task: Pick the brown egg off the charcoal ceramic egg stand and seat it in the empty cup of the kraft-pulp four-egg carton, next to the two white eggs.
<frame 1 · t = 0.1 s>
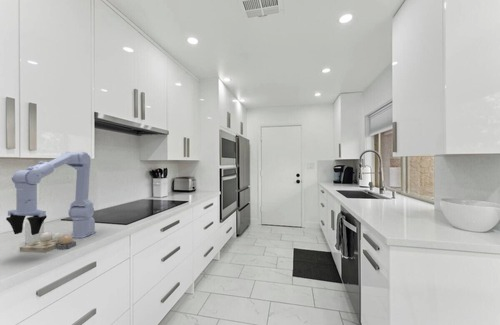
hand: (26, 233, 87), 10 cm above the countertop, fingers open, 7 cm apart
carton: (46, 246, 100), on the countertop
can: (34, 242, 105), on the countertop
brown egg: (66, 239, 99), point 3 cm above the countertop, touching egg stand
white egg b: (46, 236, 103), point 3 cm above the countertop, touching carton
white egg a: (58, 236, 102), point 3 cm above the countertop, touching carton
egg stand: (66, 246, 99), on the countertop
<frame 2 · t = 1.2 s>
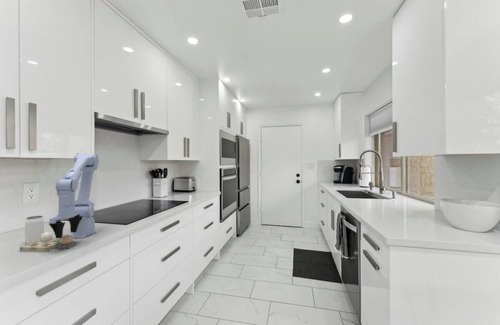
hand: (66, 234, 99), 5 cm above the countertop, fingers open, 7 cm apart
nothing on the countertop moved.
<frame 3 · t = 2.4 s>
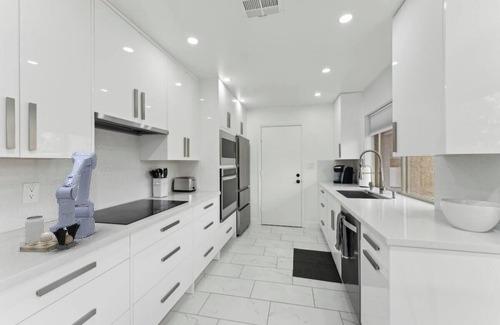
hand: (66, 242, 99), 2 cm above the countertop, fingers closed on brown egg, 4 cm apart
brown egg: (66, 239, 99), point 3 cm above the countertop, touching egg stand, gripper
everything else where it was.
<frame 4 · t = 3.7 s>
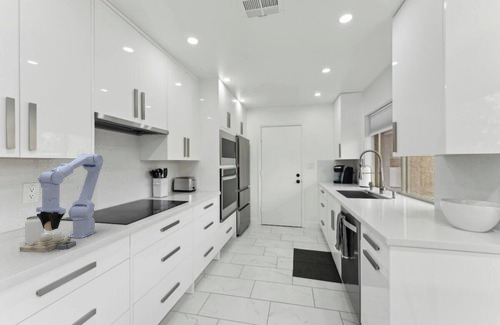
hand: (50, 228, 97), 9 cm above the countertop, fingers closed on brown egg, 4 cm apart
brown egg: (50, 225, 97), point 10 cm above the countertop, touching gripper
everything else where it was.
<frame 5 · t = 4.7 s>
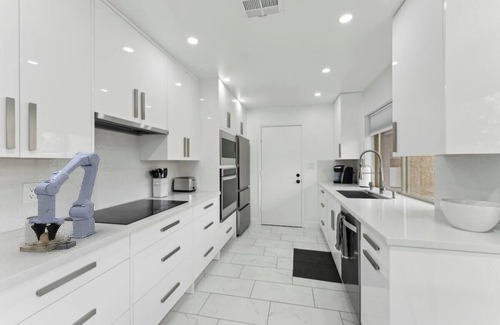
hand: (46, 240, 97), 4 cm above the countertop, fingers closed on brown egg, 4 cm apart
brown egg: (46, 237, 97), point 5 cm above the countertop, touching gripper
everything else where it was.
when the fingers open (3 cm above the countertop, at t = 5.4 s): brown egg stays where it is, resting on carton.
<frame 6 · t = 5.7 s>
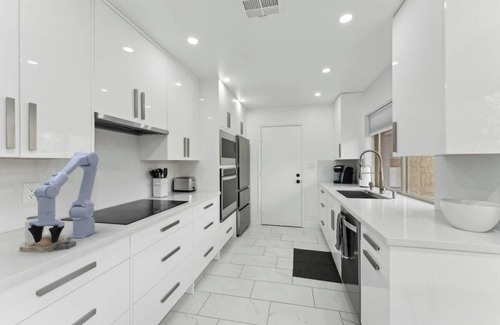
hand: (46, 242, 97), 3 cm above the countertop, fingers open, 7 cm apart
brown egg: (46, 241, 97), point 3 cm above the countertop, touching carton
everything else where it was.
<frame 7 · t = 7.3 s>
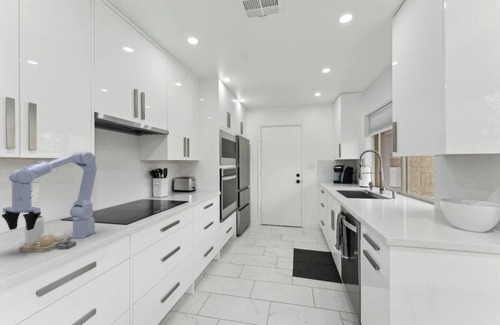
hand: (21, 229, 93), 10 cm above the countertop, fingers open, 7 cm apart
nothing on the countertop moved.
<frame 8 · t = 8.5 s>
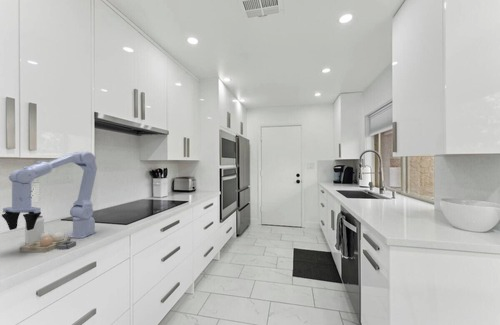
hand: (21, 229, 93), 10 cm above the countertop, fingers open, 7 cm apart
nothing on the countertop moved.
at the end: brown egg 0.0 cm from the target spot on the carton, point 3.4 cm above the carton's base; the gripper is holding nothing; white egg a moved 0.0 cm from its start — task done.
